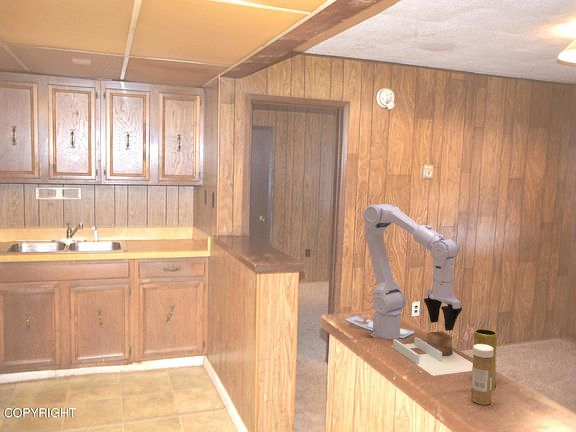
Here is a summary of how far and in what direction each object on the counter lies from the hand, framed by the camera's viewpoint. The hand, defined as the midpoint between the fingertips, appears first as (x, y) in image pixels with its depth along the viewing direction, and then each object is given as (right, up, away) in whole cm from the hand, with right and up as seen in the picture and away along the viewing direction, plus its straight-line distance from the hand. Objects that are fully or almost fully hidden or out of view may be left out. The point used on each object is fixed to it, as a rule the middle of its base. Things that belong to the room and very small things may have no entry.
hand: (441, 326), depth 149 cm
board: (-3, -10, -3) cm, 10 cm away
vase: (+5, -12, -19) cm, 23 cm away
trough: (-8, -8, -1) cm, 11 cm away
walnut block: (-1, -7, 0) cm, 7 cm away
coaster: (0, -8, +1) cm, 8 cm away
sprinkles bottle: (+1, -12, -27) cm, 30 cm away
